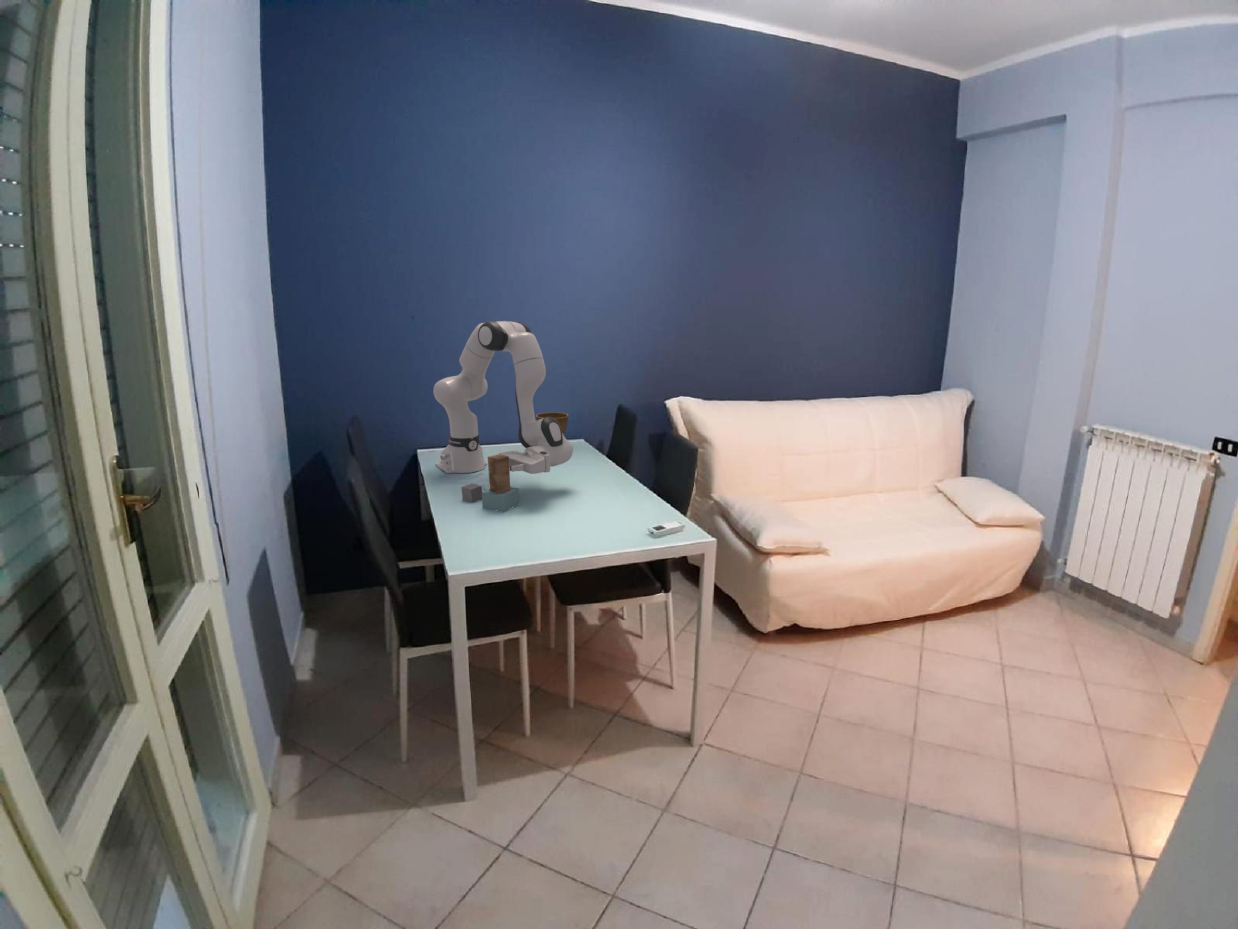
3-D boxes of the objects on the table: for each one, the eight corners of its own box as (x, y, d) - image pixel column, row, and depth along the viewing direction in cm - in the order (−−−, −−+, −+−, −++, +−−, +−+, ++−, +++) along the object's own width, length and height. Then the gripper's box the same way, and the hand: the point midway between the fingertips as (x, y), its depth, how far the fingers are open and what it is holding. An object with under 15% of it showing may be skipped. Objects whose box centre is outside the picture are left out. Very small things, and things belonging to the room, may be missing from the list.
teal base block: (482, 508, 210) (481, 492, 208) (498, 500, 217) (497, 484, 216) (504, 512, 206) (503, 496, 204) (519, 504, 214) (518, 488, 212)
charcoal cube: (462, 500, 218) (461, 486, 216) (473, 496, 222) (472, 483, 220) (472, 503, 215) (471, 489, 213) (482, 499, 219) (481, 485, 217)
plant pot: (571, 451, 283) (571, 417, 279) (539, 453, 279) (538, 419, 275) (565, 443, 297) (564, 411, 292) (535, 445, 293) (533, 412, 288)
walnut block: (489, 490, 210) (487, 456, 206) (501, 487, 213) (499, 454, 210) (498, 493, 206) (496, 459, 203) (510, 490, 210) (508, 456, 207)
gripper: (516, 445, 224) (484, 452, 215) (552, 455, 211) (520, 463, 201) (517, 461, 226) (485, 469, 217) (552, 472, 212) (520, 481, 203)
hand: (502, 466), depth 209 cm, fingers open, 8 cm apart
